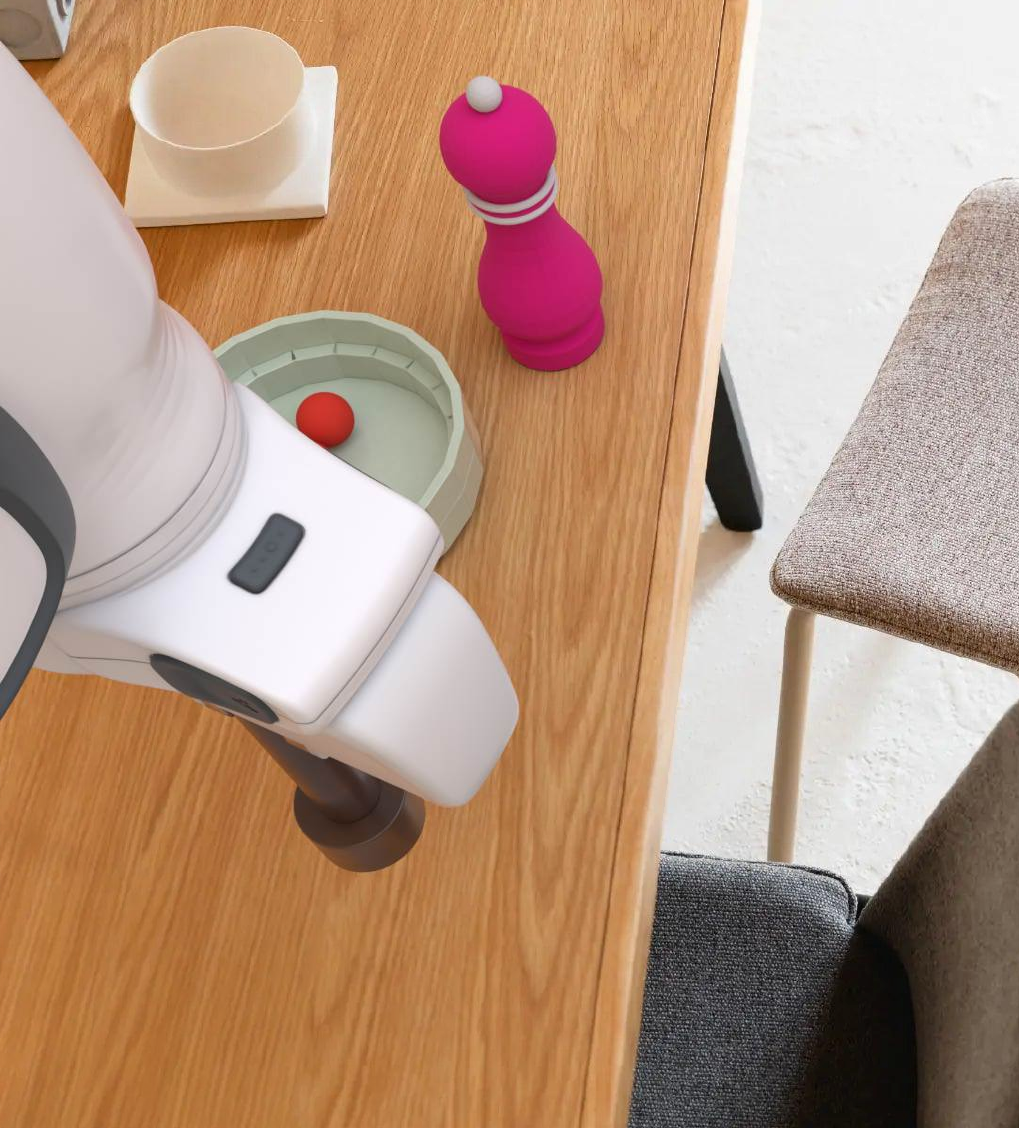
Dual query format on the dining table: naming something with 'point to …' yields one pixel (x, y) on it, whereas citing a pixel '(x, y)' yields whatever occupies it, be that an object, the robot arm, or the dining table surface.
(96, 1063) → the dining table surface
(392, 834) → the muddler
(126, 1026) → the dining table surface
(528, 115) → the pepper mill
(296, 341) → the bowl
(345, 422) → the ball
